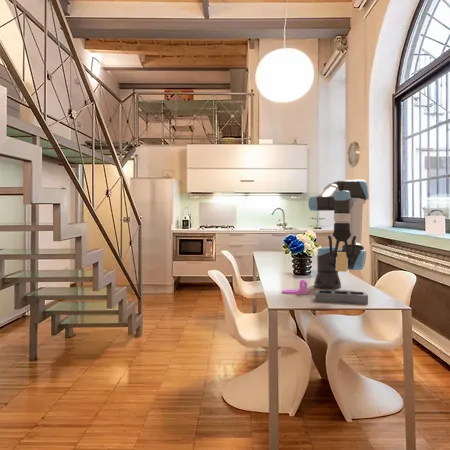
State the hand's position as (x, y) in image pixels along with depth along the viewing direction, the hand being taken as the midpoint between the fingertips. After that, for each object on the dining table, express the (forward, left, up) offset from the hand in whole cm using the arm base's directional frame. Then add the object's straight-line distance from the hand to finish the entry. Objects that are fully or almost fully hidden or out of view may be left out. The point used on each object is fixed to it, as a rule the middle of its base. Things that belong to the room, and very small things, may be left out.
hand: (341, 270), depth 193 cm
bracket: (-15, -23, -15) cm, 31 cm away
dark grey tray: (0, 0, -15) cm, 15 cm away
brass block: (0, 0, 0) cm, 0 cm away
